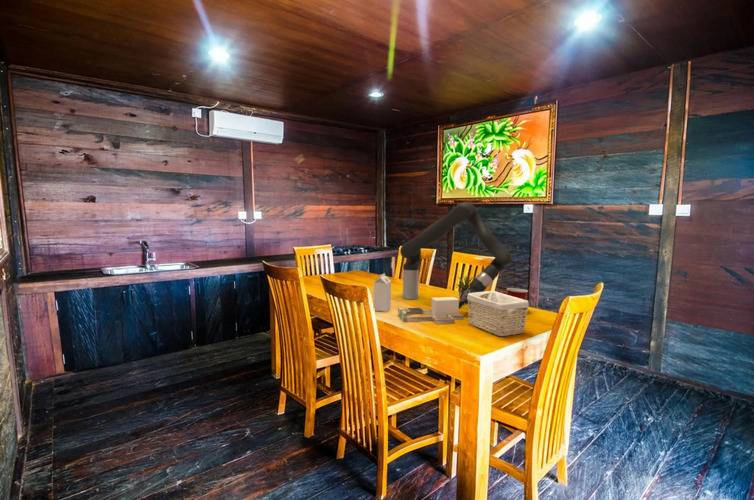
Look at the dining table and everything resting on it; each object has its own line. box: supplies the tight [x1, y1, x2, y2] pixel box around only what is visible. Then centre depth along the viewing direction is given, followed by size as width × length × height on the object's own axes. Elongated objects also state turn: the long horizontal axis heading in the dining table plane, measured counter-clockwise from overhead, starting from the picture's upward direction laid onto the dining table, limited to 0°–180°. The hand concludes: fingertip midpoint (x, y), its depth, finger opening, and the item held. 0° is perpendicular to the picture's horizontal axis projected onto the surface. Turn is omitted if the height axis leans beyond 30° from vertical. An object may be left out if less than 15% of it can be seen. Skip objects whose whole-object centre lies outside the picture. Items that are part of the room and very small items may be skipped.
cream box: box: [430, 296, 460, 319], centre depth 193 cm, size 6×12×9 cm, turn 101°
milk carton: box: [373, 272, 392, 313], centre depth 204 cm, size 7×7×19 cm
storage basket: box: [467, 290, 530, 337], centre depth 175 cm, size 24×16×15 cm
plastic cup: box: [506, 287, 529, 300], centre depth 203 cm, size 11×11×12 cm
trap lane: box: [397, 306, 465, 325], centre depth 192 cm, size 23×30×4 cm
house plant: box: [455, 275, 477, 300], centre depth 221 cm, size 14×14×16 cm
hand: (457, 307), depth 195 cm, fingers closed
